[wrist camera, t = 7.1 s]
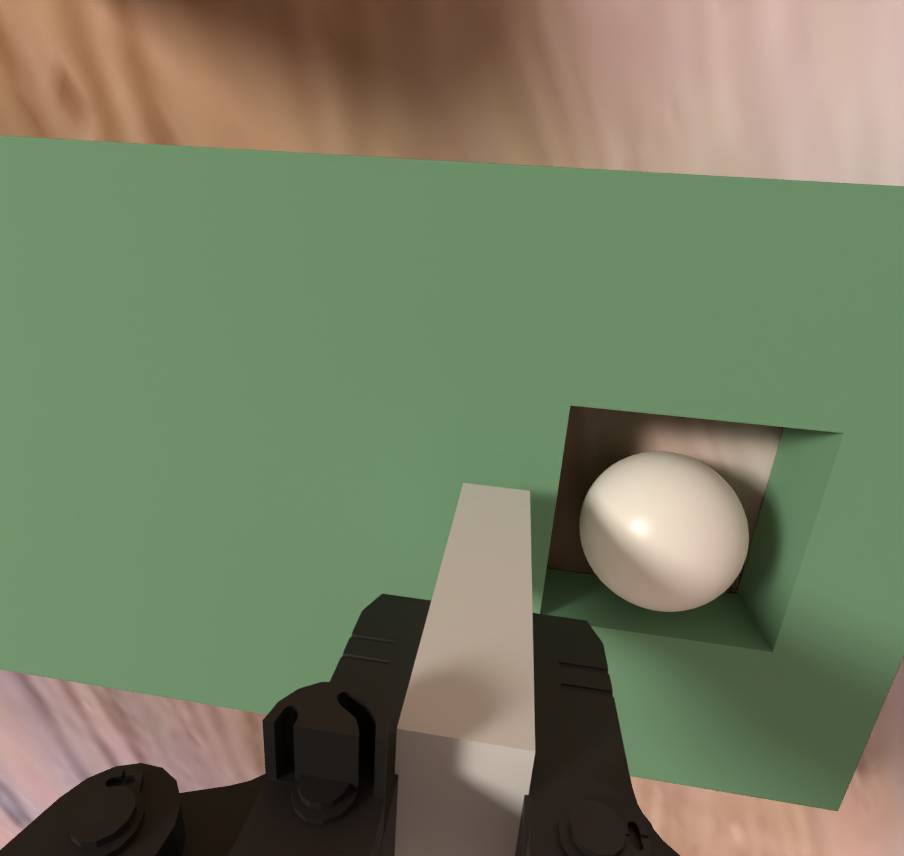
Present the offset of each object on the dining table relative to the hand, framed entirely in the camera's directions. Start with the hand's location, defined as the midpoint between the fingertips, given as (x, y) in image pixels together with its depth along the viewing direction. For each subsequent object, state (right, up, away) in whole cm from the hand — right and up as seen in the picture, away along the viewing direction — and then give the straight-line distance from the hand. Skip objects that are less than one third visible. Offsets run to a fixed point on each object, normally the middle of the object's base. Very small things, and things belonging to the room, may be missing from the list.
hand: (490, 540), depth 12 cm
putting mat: (-3, +2, +4) cm, 5 cm away
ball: (+3, 0, +2) cm, 3 cm away
